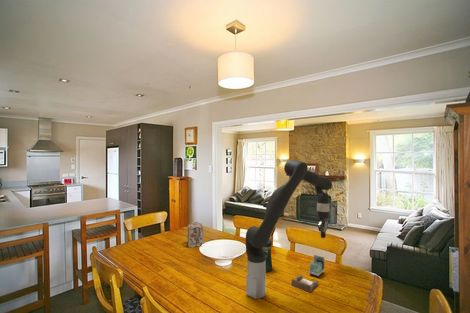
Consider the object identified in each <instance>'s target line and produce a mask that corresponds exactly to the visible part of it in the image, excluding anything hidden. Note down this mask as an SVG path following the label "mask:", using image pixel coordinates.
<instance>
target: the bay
mask: <svg viewBox="0 0 470 313" xmlns="http://www.w3.org/2000/svg"><path fill="white" fill-rule="evenodd" d="M318 285H319V280H318V279H315V280H314V281H311V280H308V279H306V278H303V274H299V275H297V276H296V277H295V278H292V279H291V286H293V287H295V288H298V289H300V290H302V291H305V292H309V293H312V291H314V289H315V288H316V287H317V286H318Z"/></svg>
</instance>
